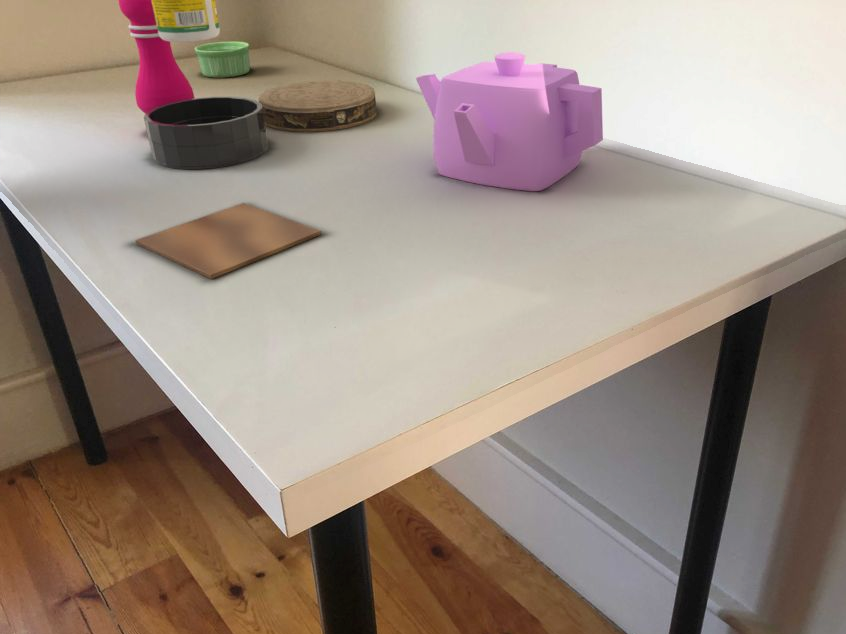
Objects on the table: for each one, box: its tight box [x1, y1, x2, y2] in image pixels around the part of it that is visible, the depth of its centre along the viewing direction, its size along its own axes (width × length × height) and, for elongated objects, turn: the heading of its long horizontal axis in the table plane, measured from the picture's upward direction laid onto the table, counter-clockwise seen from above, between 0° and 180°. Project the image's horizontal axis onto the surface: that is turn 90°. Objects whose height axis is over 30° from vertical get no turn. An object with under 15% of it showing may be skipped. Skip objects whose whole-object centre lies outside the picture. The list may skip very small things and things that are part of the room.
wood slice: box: [258, 80, 378, 133], centre depth 110 cm, size 16×16×3 cm
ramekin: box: [194, 40, 251, 79], centre depth 135 cm, size 9×9×4 cm
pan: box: [143, 96, 269, 170], centre depth 96 cm, size 14×14×5 cm
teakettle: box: [415, 52, 604, 192], centre depth 86 cm, size 17×17×12 cm
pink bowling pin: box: [118, 0, 196, 114], centre depth 100 cm, size 7×7×20 cm
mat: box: [135, 202, 322, 280], centre depth 73 cm, size 12×12×1 cm
